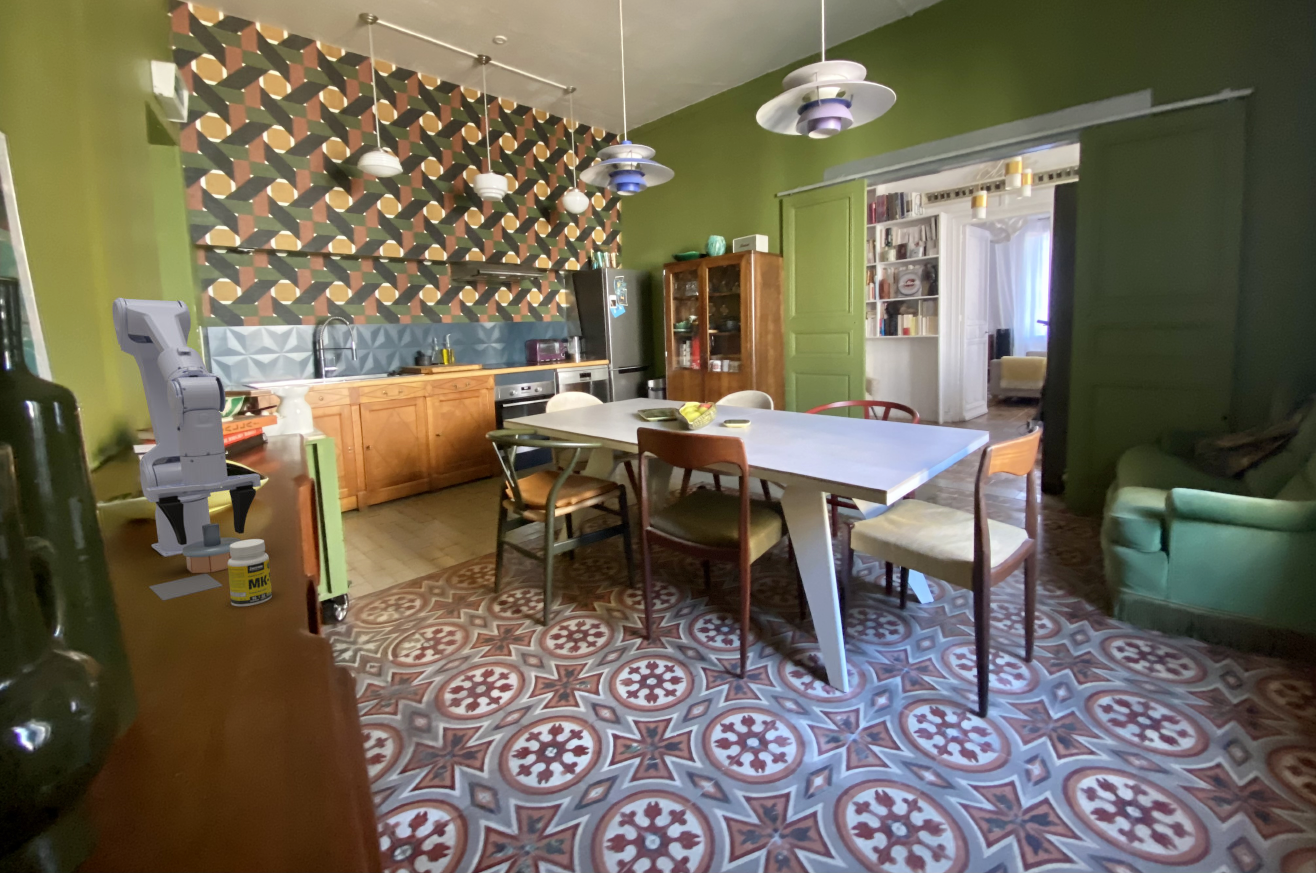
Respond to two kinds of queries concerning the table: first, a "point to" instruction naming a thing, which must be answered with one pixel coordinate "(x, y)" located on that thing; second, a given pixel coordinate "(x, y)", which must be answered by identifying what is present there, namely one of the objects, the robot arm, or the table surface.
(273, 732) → the table surface
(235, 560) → the supplement bottle
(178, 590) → the mat
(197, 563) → the bowl
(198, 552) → the lid
